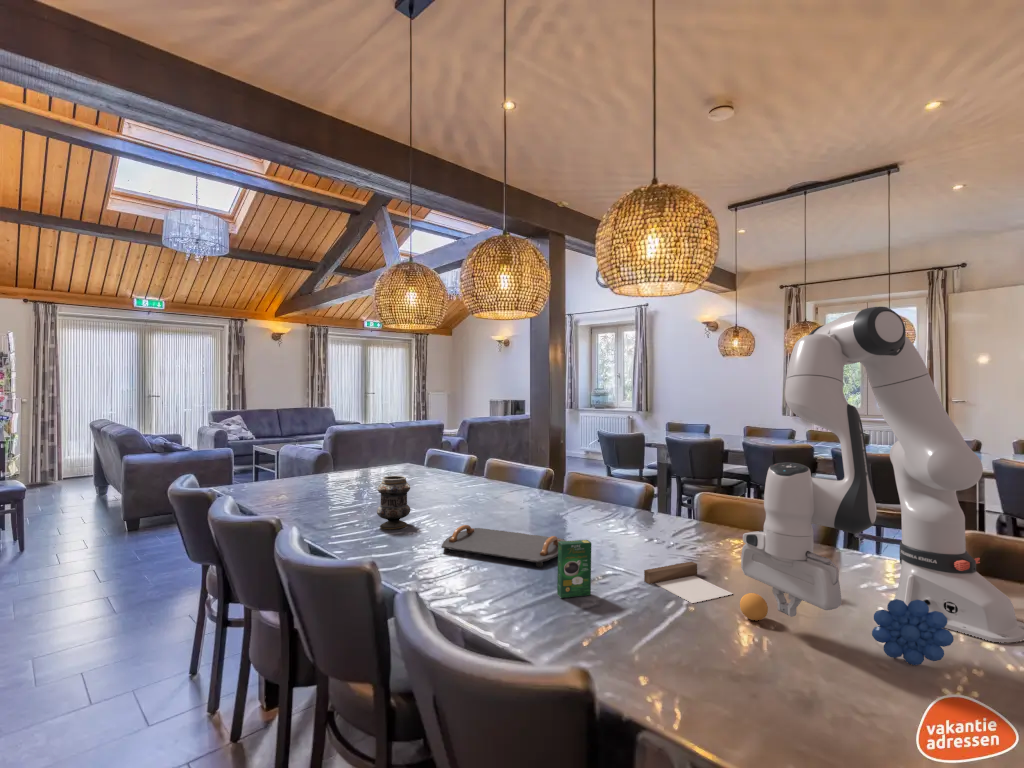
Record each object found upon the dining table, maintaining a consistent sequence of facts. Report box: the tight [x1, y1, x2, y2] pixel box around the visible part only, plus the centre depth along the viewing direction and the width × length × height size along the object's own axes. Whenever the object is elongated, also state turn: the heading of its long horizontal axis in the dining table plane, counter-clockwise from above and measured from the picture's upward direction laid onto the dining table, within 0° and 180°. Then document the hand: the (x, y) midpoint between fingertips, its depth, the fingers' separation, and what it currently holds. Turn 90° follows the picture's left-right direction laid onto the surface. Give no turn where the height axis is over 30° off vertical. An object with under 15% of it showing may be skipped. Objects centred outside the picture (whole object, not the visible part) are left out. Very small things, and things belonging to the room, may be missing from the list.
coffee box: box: [556, 539, 592, 599], centre depth 122 cm, size 8×3×13 cm, turn 104°
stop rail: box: [643, 561, 698, 585], centre depth 132 cm, size 2×16×3 cm, turn 113°
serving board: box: [440, 524, 566, 568], centre depth 157 cm, size 39×23×6 cm, turn 65°
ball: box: [739, 592, 769, 622], centre depth 109 cm, size 6×6×6 cm
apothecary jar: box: [376, 475, 411, 530], centre depth 185 cm, size 12×12×18 cm
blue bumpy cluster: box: [871, 599, 955, 666], centre depth 91 cm, size 12×7×12 cm, turn 47°
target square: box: [654, 575, 734, 604], centre depth 125 cm, size 13×13×1 cm
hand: (786, 613), depth 101 cm, fingers closed
